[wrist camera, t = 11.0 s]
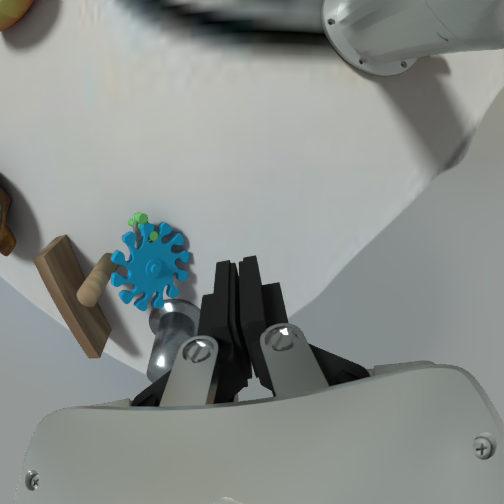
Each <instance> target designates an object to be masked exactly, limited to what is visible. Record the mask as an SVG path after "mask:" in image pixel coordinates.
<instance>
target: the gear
mask: <svg viewBox="0 0 504 504" xmlns="http://www.w3.org/2000/svg"><path fill="white" fill-rule="evenodd" d="M147 220H148V216H147V215H146V214H144V213H139V212H138V213H135V215H134V220H133V219H129V220H128V224H129V225H131V226H133V231H134V233H133V232H127V233H126V234H124V235H123V236H122V240H123V242H124V243H126V245H127V246H128V248H129V251H130V256H129V260H128V261H125V256H124V254H123V253H122V252H120V251H118V250H116V251H115V252H114V253H113V255H112V257H111V261H112V262H114V263H115V264H119V265H124V266H125V267H126V268H127V270H128V275H127V276H126V277H122V276H121V275H120V274H118V273H117V272H114V273H112V275H111V284H112V285H114V286H115V287H118V286H120V285H122V284H125V283H131V284H133V288H132V290H130V291H127V290H122V291H120V292H119V296H120V298H121V300H122V301H123V302H124V303H125V304H128V303H130V302H131V300H132V299H133V297H134V296H135V295H137V294H139V293H141V292H144V294H143V296H142V297H141V298H139V299H137V300H136V301H135V302H134V306H136V307H137V308H138V309H139V310H141V311H145V310H146V309H147V304H148V300H149V298H150V297H151V296H152V294H153V293H154V292H156V295H155V297H154V298H153V299H152V301H151V305H152V306H154V307H155V308H161V307H163V306H164V300H163V291H164V287H165V286H166V285H168V287H167V290H166V294H167V295H168V296H169V297H171V298H174V297H175V296H176V295H178V294H179V290H178V289H177V288H176V287H175V286H174V284H173V280H172V275H173V274H174V273H175V274H176V278H177V279H178V280H180V281H184V280H185V279H186V278H187V276H188V272H187V271H185V270H183V269H178V268H177V267H176V265H175V260H176V258H178V259H179V260H180V261H183V262H188V260H189V252H188V251H185V250H181V251H179V252H176V253H173V252H171V247H172V245H173V244H177V245H182V244H183V243H184V238H183V236H182V234H180V233H175V234H173V236H172V237H171V238H170V239H169V240H168V241H166V242H163V243H162V242H161V239H162V237H163V236H164V235H167V234H169V233H170V232H171V230H172V228H171V227H170V226H169V225H168V224H167V223H164V222H161V223H160V224H159V226H158V230H157V232H155V231H153V230H154V225H153V224H150V223H148V221H147ZM149 240H151V241H149ZM134 245H135V246H136V248H135V246H134Z"/></svg>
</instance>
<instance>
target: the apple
mask: <svg viewBox="0 0 504 504" xmlns="http://www.w3.org/2000/svg"><path fill="white" fill-rule="evenodd" d="M33 1H34V0H0V31H3V30H5V29H7V28H8V27H10V26H12V25H13V24H15V23H16V22H17V21H18V20H19V19H20V18H21V17H23V15H24V14H25V13H26V12H27V10H28V9H29V8H30V6H31V4H32V3H33Z"/></svg>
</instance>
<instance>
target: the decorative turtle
mask: <svg viewBox="0 0 504 504" xmlns="http://www.w3.org/2000/svg"><path fill="white" fill-rule="evenodd" d="M10 204H11V197H10V196H9V194H7V193H6V192H5V191H4V190H2V189H1V188H0V253H1V254H3V255H4V256H8V255H9V254H10V253H11V251H12V250H13V248H14V247H15V245H16V238H15V237H14V235H13V234H12V232H11V230H10V229H9V227H8V226H7V224H6V214H7V210H8V208H9V207H10Z"/></svg>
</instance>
